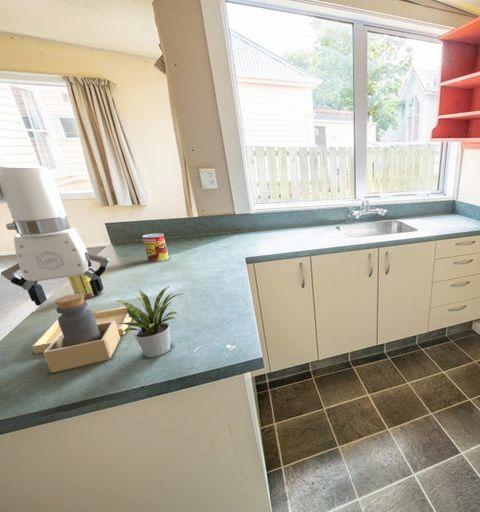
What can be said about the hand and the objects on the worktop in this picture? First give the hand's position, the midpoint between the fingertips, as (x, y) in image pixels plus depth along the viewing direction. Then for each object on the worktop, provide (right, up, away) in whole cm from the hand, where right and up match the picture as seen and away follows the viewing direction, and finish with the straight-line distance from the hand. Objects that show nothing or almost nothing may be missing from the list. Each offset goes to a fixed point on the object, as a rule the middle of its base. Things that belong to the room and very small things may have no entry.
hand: (71, 298), depth 69 cm
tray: (-10, -11, +15) cm, 21 cm away
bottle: (-1, -14, +5) cm, 15 cm away
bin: (-1, -15, +5) cm, 15 cm away
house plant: (+16, -14, +7) cm, 23 cm away
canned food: (-36, +8, +73) cm, 82 cm away
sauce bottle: (-31, -4, +35) cm, 47 cm away
